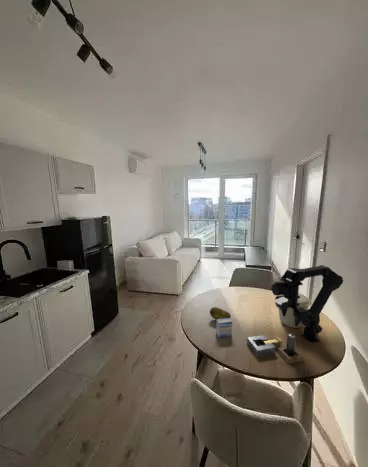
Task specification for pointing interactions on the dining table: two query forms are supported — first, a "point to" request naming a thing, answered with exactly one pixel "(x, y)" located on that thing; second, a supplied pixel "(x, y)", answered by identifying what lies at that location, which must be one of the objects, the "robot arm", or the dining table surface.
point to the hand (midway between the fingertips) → (289, 320)
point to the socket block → (262, 349)
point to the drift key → (274, 342)
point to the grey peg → (290, 344)
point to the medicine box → (224, 327)
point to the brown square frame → (295, 358)
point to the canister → (289, 318)
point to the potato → (219, 313)
